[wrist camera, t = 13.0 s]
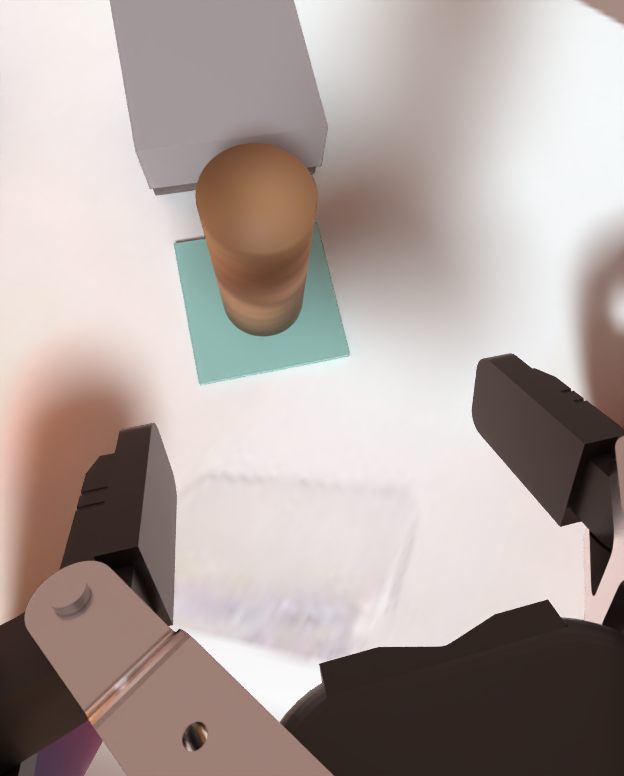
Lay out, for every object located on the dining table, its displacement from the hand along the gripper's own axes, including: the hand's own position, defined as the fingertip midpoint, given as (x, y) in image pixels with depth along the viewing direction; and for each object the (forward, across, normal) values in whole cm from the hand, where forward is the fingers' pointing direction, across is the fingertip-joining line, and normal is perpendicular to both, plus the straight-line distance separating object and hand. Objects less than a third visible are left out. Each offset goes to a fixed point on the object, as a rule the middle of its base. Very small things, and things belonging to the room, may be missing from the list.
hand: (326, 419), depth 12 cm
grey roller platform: (+26, 0, -4) cm, 27 cm away
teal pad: (+18, 0, +4) cm, 19 cm away
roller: (+18, 0, +4) cm, 18 cm away
